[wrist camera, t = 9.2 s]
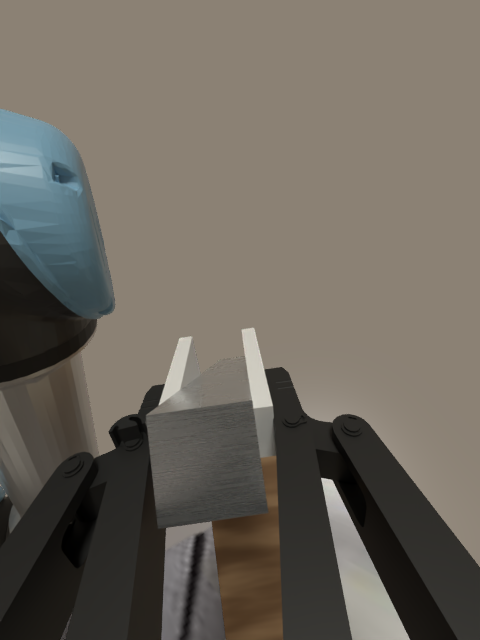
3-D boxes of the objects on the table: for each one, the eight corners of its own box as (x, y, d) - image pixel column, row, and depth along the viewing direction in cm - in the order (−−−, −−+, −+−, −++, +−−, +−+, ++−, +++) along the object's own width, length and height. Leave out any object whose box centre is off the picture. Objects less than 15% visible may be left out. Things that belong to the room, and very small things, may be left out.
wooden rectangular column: (322, 684, 29) (279, 397, 32) (233, 697, 29) (198, 408, 32) (294, 562, 45) (267, 378, 47) (236, 570, 45) (213, 386, 47)
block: (268, 513, 7) (252, 400, 7) (157, 528, 7) (145, 415, 7) (248, 381, 31) (245, 356, 31) (223, 384, 31) (220, 359, 31)
